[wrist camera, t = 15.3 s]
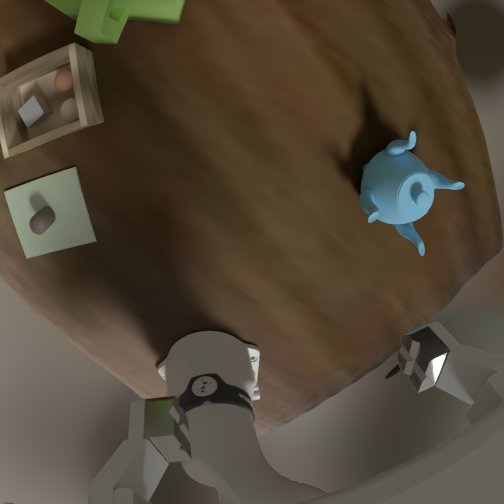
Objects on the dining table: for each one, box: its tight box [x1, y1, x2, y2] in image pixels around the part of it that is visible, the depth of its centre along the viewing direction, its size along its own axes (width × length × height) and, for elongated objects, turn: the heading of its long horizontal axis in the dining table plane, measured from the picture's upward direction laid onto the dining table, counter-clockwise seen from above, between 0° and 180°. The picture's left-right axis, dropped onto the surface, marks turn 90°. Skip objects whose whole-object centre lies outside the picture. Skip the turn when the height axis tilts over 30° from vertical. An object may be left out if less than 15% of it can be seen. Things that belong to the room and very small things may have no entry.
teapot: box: [359, 131, 464, 256], centre depth 40 cm, size 13×13×10 cm
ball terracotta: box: [54, 68, 74, 91], centre depth 29 cm, size 3×3×3 cm
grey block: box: [18, 95, 53, 128], centre depth 29 cm, size 3×3×3 cm
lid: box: [4, 167, 97, 258], centre depth 36 cm, size 11×13×4 cm
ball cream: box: [60, 98, 79, 121], centre depth 30 cm, size 3×3×3 cm
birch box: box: [0, 43, 104, 159], centre depth 28 cm, size 10×12×7 cm
